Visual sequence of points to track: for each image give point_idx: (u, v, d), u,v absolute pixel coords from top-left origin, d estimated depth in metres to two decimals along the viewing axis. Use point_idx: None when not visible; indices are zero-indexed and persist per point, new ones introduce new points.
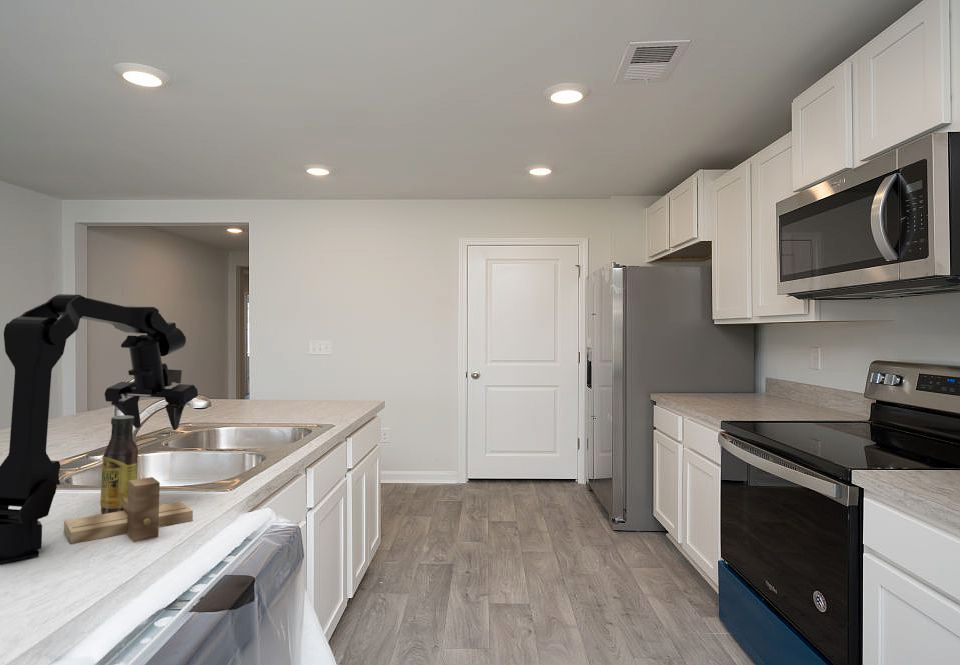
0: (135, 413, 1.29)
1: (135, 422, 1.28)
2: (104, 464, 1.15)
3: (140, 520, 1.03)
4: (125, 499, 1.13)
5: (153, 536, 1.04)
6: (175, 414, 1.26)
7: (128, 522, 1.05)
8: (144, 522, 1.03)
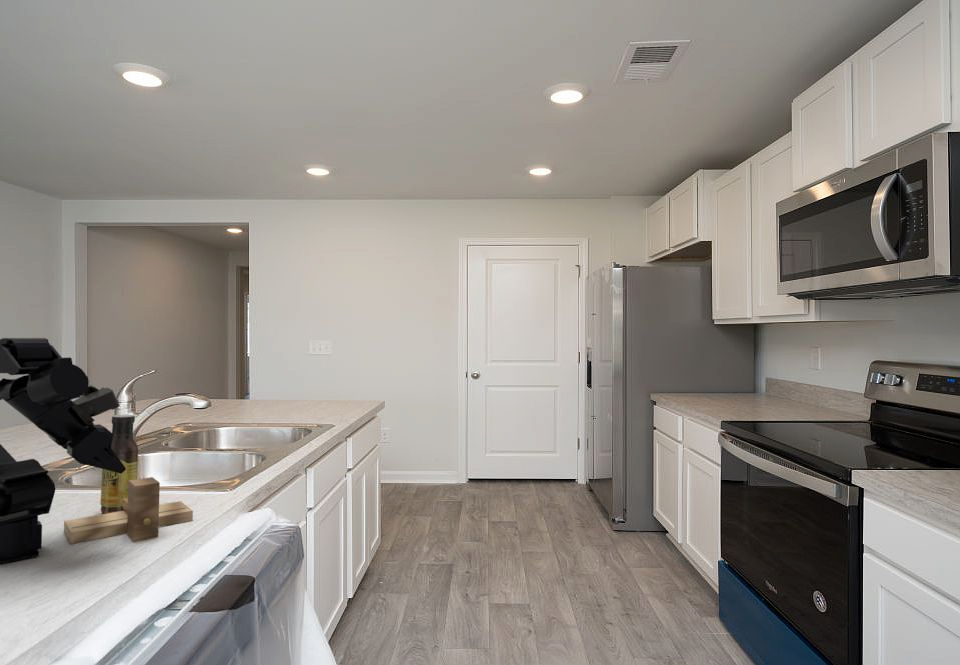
0: None
1: None
2: None
3: (140, 520, 1.03)
4: (125, 499, 1.13)
5: (153, 536, 1.04)
6: (100, 463, 0.96)
7: (128, 522, 1.05)
8: (144, 522, 1.03)
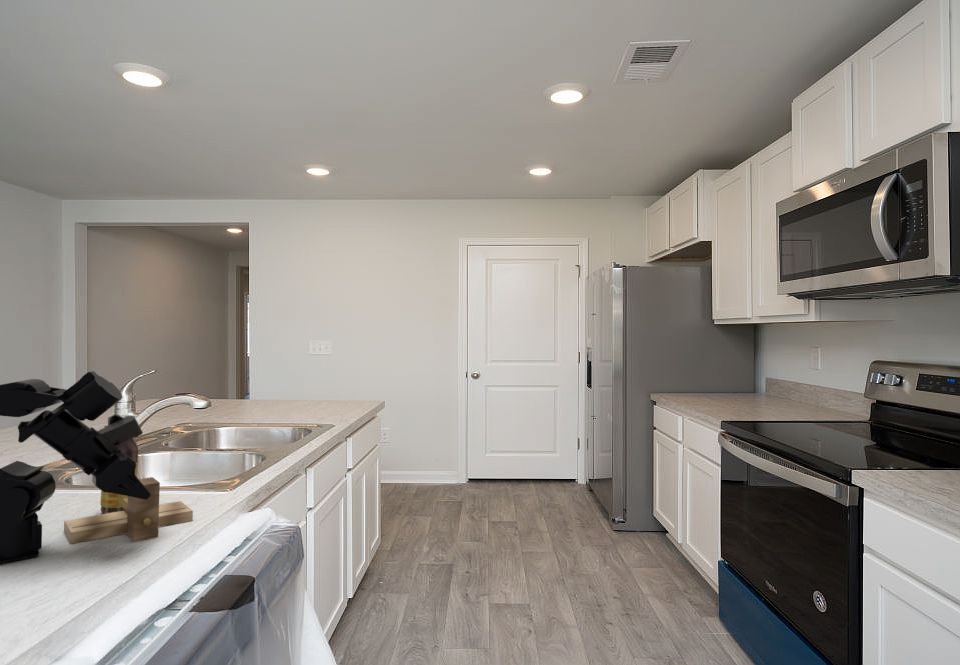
0: None
1: None
2: None
3: (140, 520, 1.03)
4: (125, 499, 1.13)
5: (153, 536, 1.04)
6: (125, 491, 0.98)
7: (128, 522, 1.05)
8: (144, 522, 1.03)
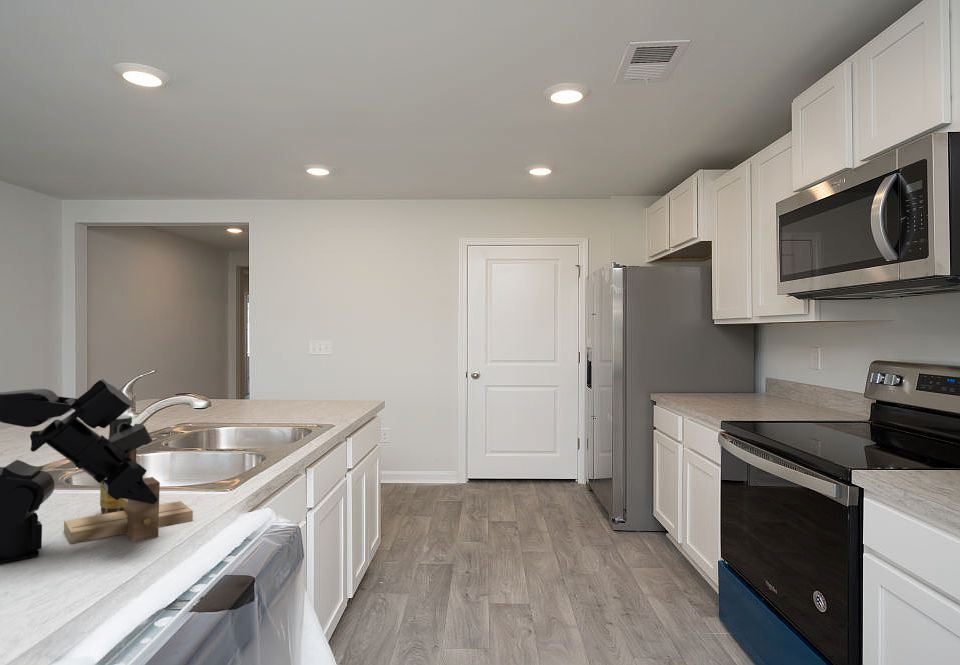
0: None
1: None
2: None
3: (140, 520, 1.03)
4: (125, 499, 1.13)
5: (153, 536, 1.04)
6: (133, 495, 1.01)
7: (128, 522, 1.05)
8: (144, 522, 1.03)
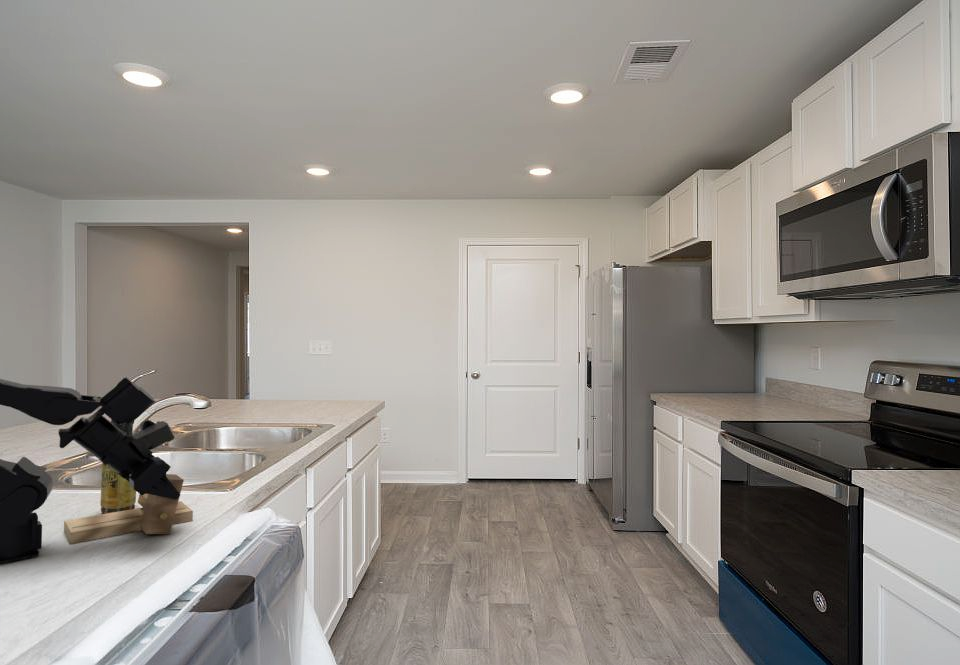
0: None
1: None
2: (104, 464, 1.15)
3: (158, 514, 1.05)
4: None
5: (165, 532, 1.06)
6: (157, 491, 1.03)
7: (144, 514, 1.07)
8: (161, 516, 1.05)
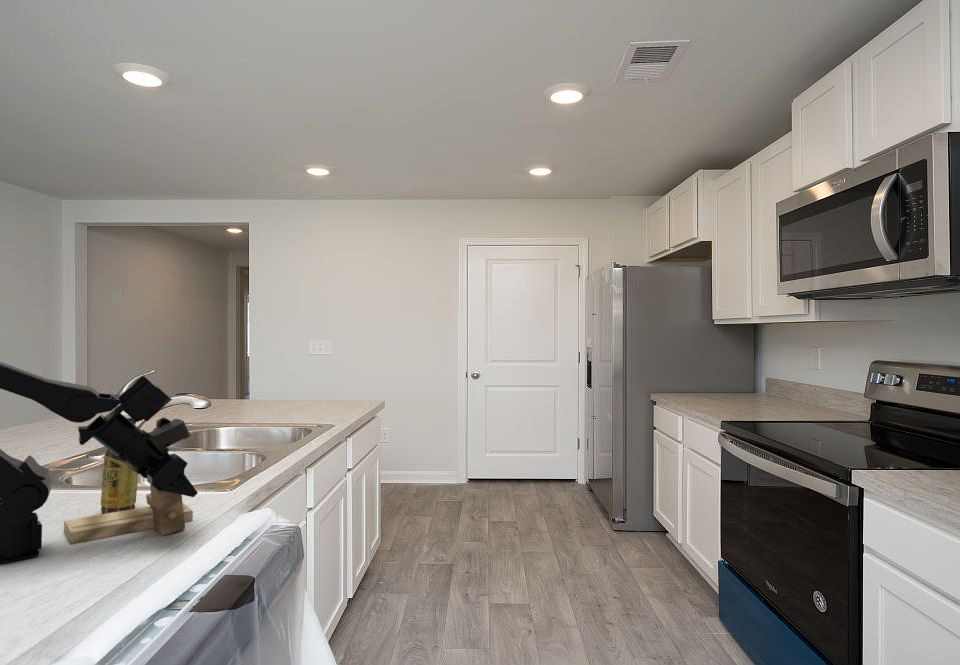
0: None
1: None
2: (105, 463, 1.15)
3: (166, 515, 1.06)
4: (148, 495, 1.16)
5: (180, 529, 1.08)
6: (175, 489, 1.04)
7: (154, 517, 1.08)
8: (170, 516, 1.06)
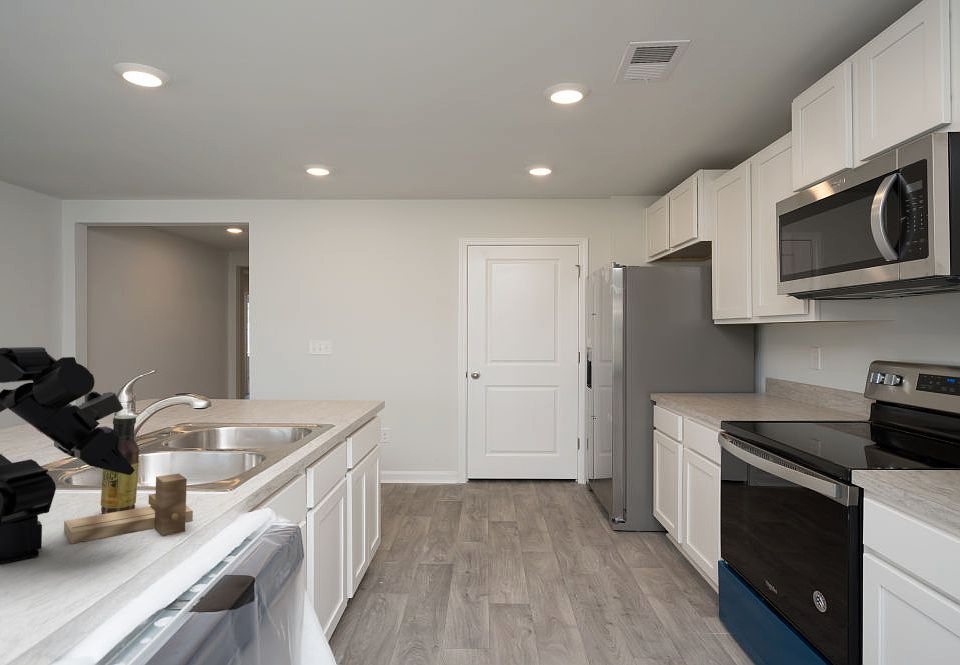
0: None
1: None
2: None
3: (168, 515, 1.06)
4: (151, 495, 1.16)
5: (180, 531, 1.08)
6: (109, 465, 0.96)
7: (156, 517, 1.08)
8: (172, 517, 1.06)
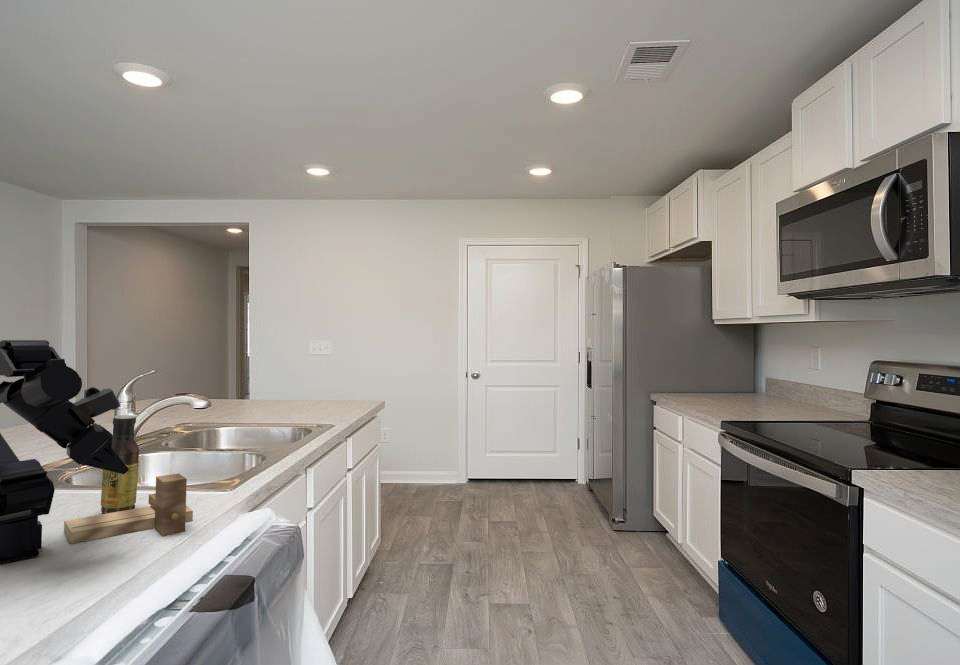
0: None
1: None
2: None
3: (168, 515, 1.06)
4: (151, 495, 1.16)
5: (180, 531, 1.08)
6: (101, 464, 0.95)
7: (156, 517, 1.08)
8: (172, 517, 1.06)
